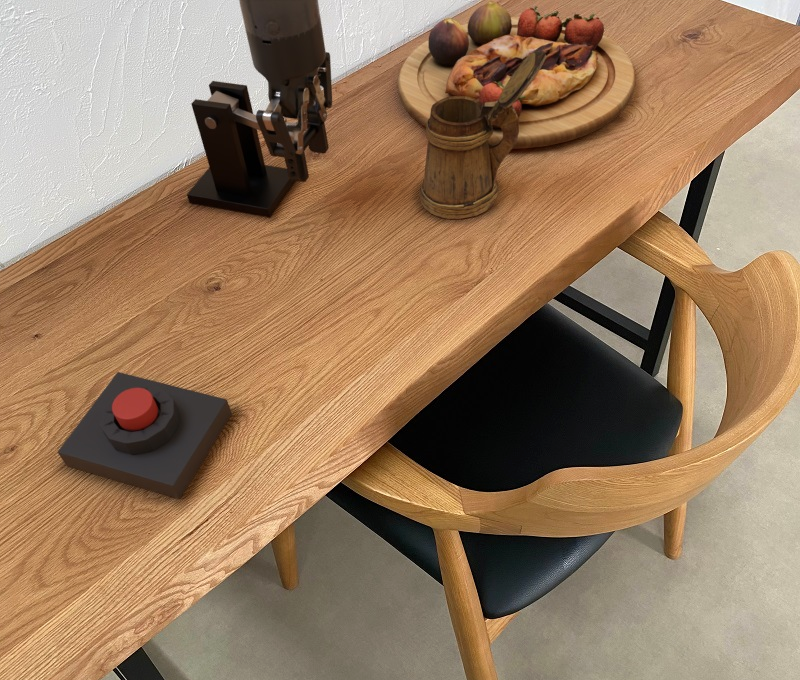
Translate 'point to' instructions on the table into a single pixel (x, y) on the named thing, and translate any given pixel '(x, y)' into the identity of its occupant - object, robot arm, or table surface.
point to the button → (135, 409)
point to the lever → (251, 120)
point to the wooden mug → (471, 147)
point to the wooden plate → (501, 56)
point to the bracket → (235, 159)
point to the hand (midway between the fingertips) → (309, 164)
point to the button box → (148, 437)
